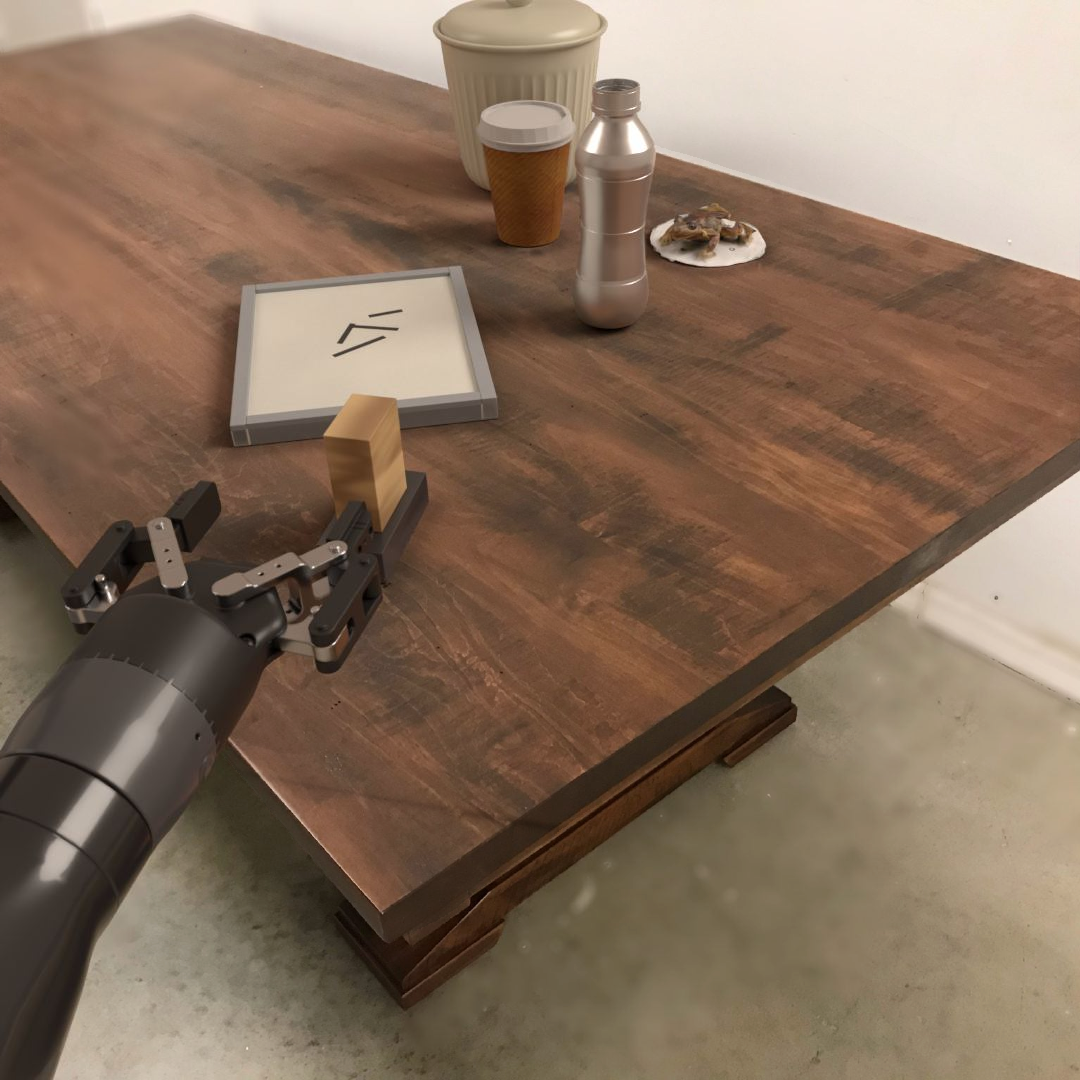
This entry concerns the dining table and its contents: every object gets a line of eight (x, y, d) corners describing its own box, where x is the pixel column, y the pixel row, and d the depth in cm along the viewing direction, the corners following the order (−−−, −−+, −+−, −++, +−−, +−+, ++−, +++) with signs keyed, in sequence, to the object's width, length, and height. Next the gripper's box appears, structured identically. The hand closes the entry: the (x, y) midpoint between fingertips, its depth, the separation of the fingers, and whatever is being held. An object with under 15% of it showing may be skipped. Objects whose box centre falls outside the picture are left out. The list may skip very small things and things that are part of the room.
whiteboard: (234, 447, 82) (229, 425, 81) (246, 304, 101) (242, 285, 100) (498, 418, 85) (496, 397, 84) (462, 284, 103) (460, 265, 102)
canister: (427, 163, 129) (411, -36, 115) (573, 144, 133) (573, -51, 120) (468, 221, 115) (454, 2, 102) (629, 197, 119) (635, -16, 106)
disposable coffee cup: (558, 259, 107) (557, 134, 100) (468, 247, 110) (460, 125, 102) (587, 221, 114) (588, 103, 107) (501, 211, 117) (496, 95, 109)
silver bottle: (560, 312, 98) (558, 79, 86) (627, 298, 100) (635, 68, 88) (591, 344, 94) (594, 103, 81) (661, 328, 96) (674, 90, 83)
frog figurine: (723, 279, 103) (726, 241, 101) (623, 245, 109) (624, 208, 107) (790, 241, 110) (794, 203, 107) (692, 211, 116) (694, 175, 114)
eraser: (321, 575, 71) (298, 452, 65) (369, 494, 77) (352, 376, 72) (386, 584, 70) (368, 460, 64) (429, 501, 77) (417, 383, 71)
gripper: (270, 691, 43) (405, 459, 55) (-50, 638, 45) (147, 429, 58) (301, 813, 47) (419, 574, 60) (9, 759, 50) (180, 541, 62)
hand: (285, 503), depth 59 cm, fingers open, 8 cm apart
